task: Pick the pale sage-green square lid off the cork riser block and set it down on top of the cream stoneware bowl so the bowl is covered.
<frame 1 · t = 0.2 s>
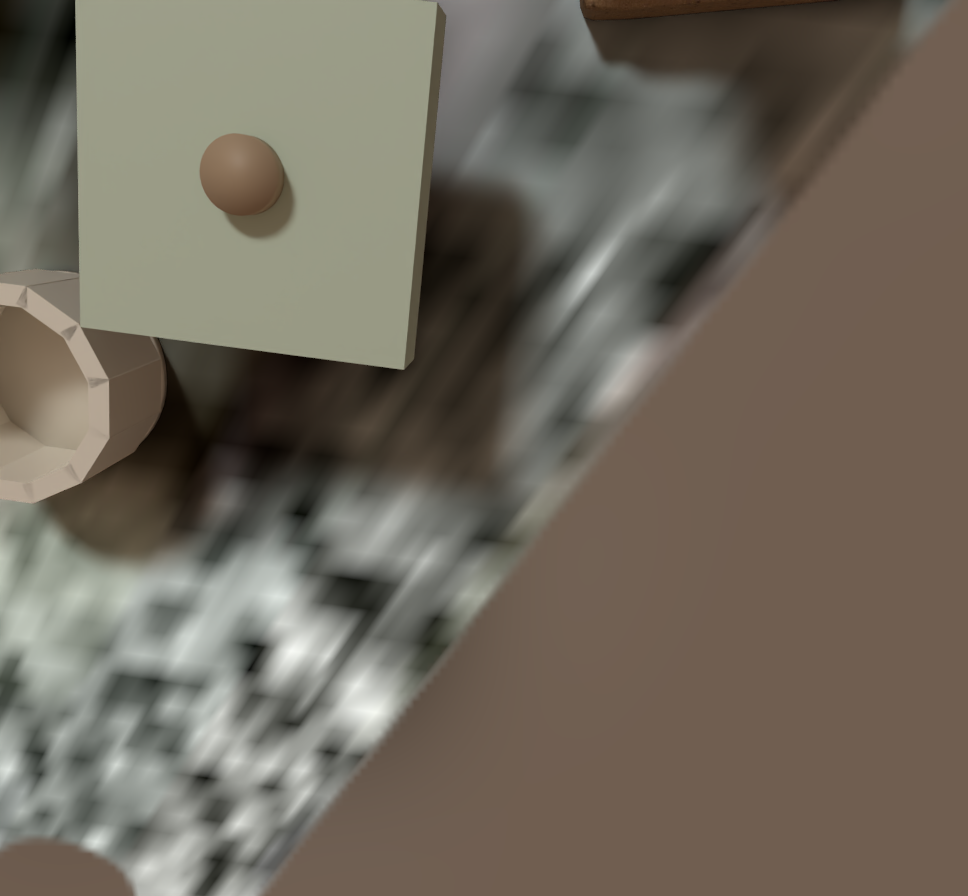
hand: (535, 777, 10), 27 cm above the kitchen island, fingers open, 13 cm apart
bowl: (72, 369, 38), on the kitchen island
lid: (267, 176, 30), point 5 cm above the kitchen island, touching riser
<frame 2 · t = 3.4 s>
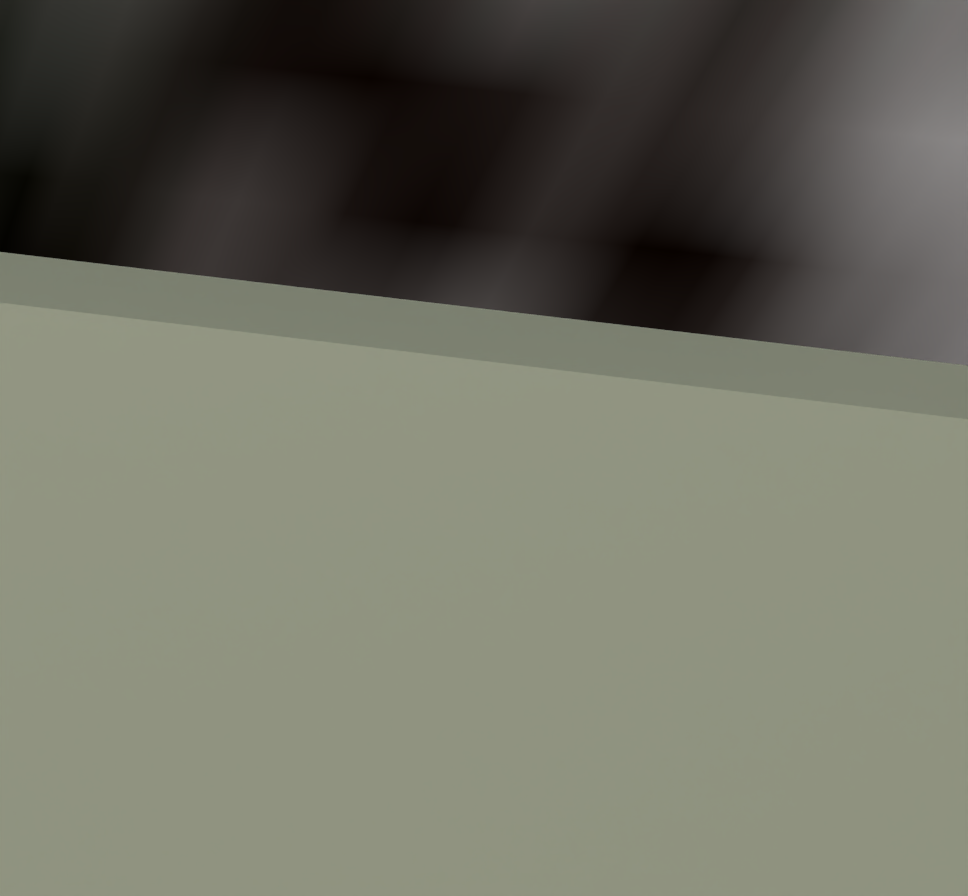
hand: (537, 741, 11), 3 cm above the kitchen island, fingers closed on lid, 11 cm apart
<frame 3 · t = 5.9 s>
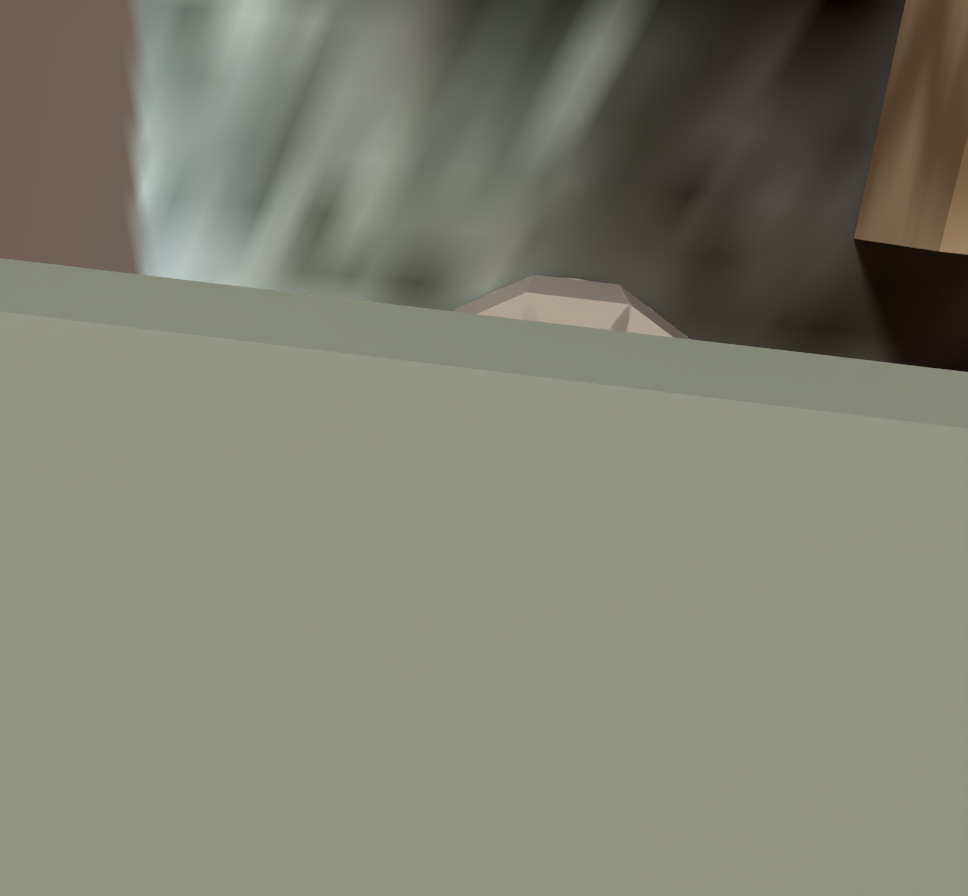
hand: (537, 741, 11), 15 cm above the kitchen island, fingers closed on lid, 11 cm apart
bowl: (556, 427, 25), on the kitchen island
when the fingers open (3 cm above the kitchen island, at t = 8.9 s): lid drops 1 cm, resting on bowl.
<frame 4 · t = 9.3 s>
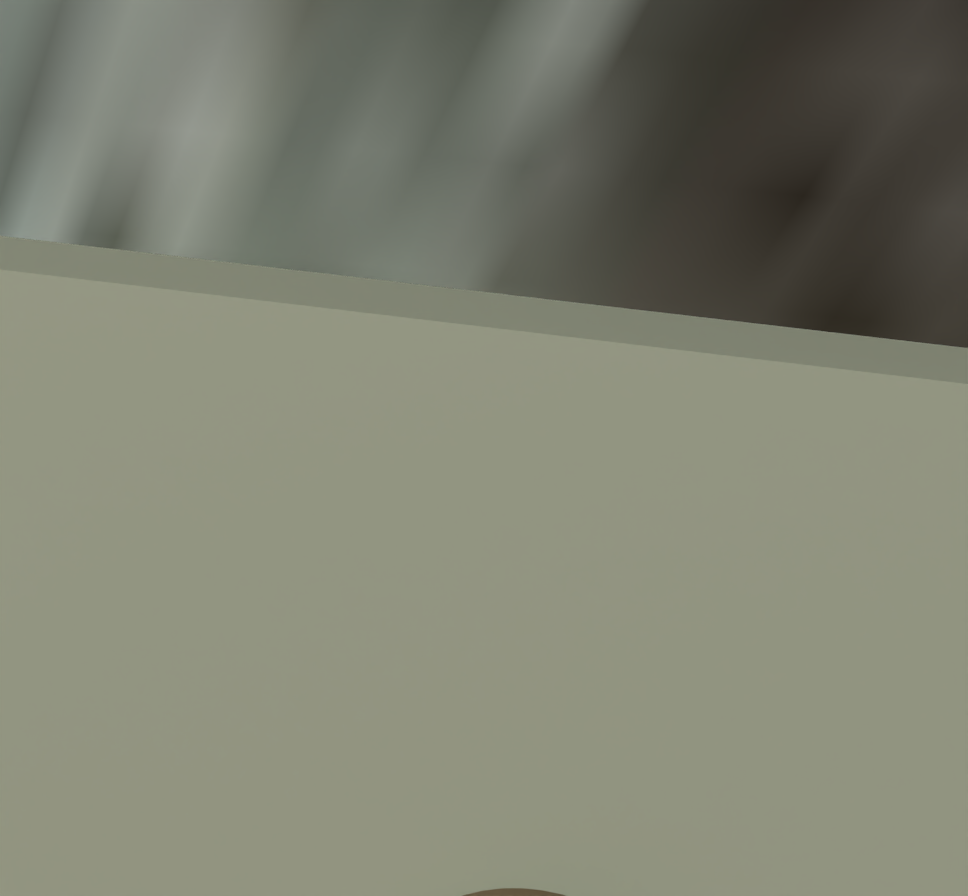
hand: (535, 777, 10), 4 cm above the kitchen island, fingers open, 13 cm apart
lid: (532, 839, 9), point 5 cm above the kitchen island, touching bowl
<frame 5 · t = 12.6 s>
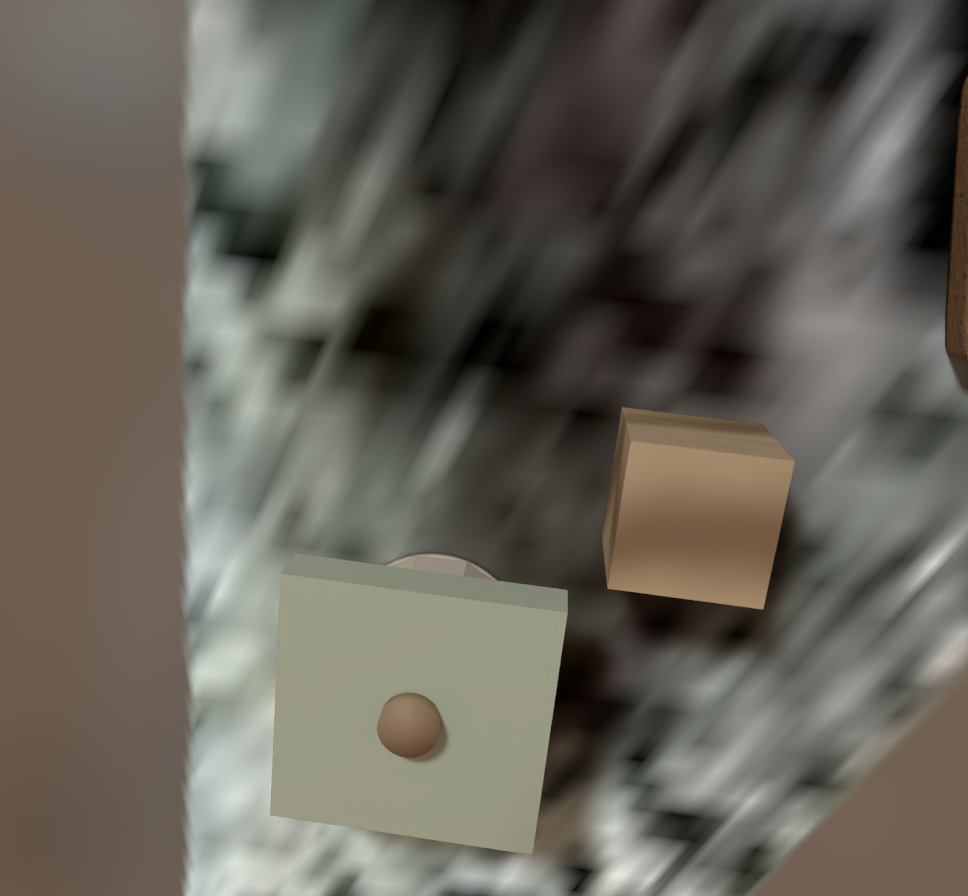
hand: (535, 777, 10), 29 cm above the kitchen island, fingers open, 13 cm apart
bowl: (435, 635, 42), on the kitchen island
riser: (680, 481, 39), on the kitchen island
lid: (419, 692, 37), point 5 cm above the kitchen island, touching bowl
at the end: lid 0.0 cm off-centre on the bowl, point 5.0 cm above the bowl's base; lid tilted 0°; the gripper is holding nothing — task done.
